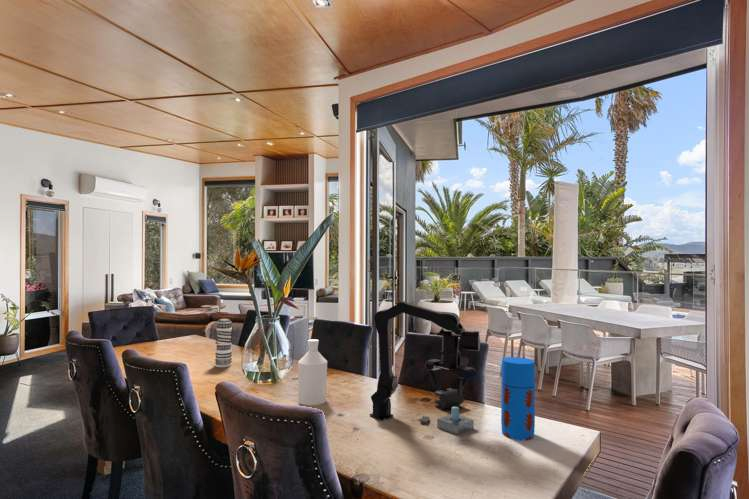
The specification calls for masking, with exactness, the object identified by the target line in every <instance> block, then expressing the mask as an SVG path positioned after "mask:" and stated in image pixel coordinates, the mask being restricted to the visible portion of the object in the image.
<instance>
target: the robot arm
mask: <svg viewBox="0 0 749 499" xmlns="http://www.w3.org/2000/svg"><path fill="white" fill-rule="evenodd" d="M401 314H406V315H409V316H411V317H412V316H413V317H416V318H419V319H421V320H425V321H429V322H431V323H433V324H435V325H437V326H439V327H440V328H441V329H440V330H439V332H437V333H436V336H439V337H440V336H441V337H442V342H441V350H440V351H439V354H440V355H441V359H437V358H432V359H429V360H426V362H425V363H424V364H425V367H424V368H425V369H426V370H427V371H428V372H429V373H430V376H431V377H432V379H433V381H434V384H435V386H436V388H437V391H439V390H441V387H442V374H443V371H444V370H445V371H448V372H452V373H456V375H457V377H456V389H457V391H458V396H461V394H462V392H463V391H464V389H465V386H466V384H467V382H468V381H469V380H470V379H473V378H474V377H477V371H476V369H475V368H474V367H471V366H468V364H469V358H468V357H465V356H462V352H461V351H459V347H460V348H461V349H462V351H472V352H473V351H474V352H480V349H481V339H480V331H479V330H477V331H476V330H475V331H470V330H469V331H468V330H466V329H465V327H464V326H463V325H462V324H461V320H460V316H459V315H458V314H457V313H455V312H452V311H451V312H449V311H437V310H432V309H429V308H426V307H423V306H419V305H417V304H412V303H410V302H407V301H404V300H402V301H399V302H398V303H397V304H395V305H393V306H391V307H389V308H387V309H382V310H379V311H376V313H375V314H374V316H373V321H374V326H375V329H376V332H377V334H378V346H379V347H378V349H379V351H378V352H379V376H378V379H377V386H376V391H375V392H374V393H373V394H372V395H371V396H370V399H371V402H372V413H370V414H369V416H370V417H373V418H375V419H378V420H380V421H383V420H385V419H389V418H391V417H394V414H393V413H391V412H392V402H391V397H392V395H393V394H394V393H395V392H397V388H398V387H399V383H398V375H395V374H394V372H393V365H392V364H393V363H392V343H391V342H392V340H391V334H392V330H393V329H392V328H393V324H394V319H395V318H396V317H398V316H400V315H401Z"/></svg>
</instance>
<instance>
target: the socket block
mask: <svg viewBox="0 0 749 499" xmlns="http://www.w3.org/2000/svg"><path fill="white" fill-rule="evenodd" d="M451 418H452V413H450V414H447V415H444V416H441V417H439V418H437V419H436V421H437V424H436V427H437V428H438V429H440V430H443V431H446V432H448V433H452V434H455V435H457V436H459V435H461V434H465V433H466V432H469V431H471V430H473V429H474V426H475V424H474V423H475V422H474V421H475V420H474V419H473V418H469V417H466V416H462V415H460V414H459V421H452V420H451ZM474 430H475V429H474Z"/></svg>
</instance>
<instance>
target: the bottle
mask: <svg viewBox="0 0 749 499" xmlns="http://www.w3.org/2000/svg"><path fill="white" fill-rule="evenodd" d="M319 341H320V340H319V339H316V338H315V339H314V338H312V339H308V340H307V344H308V345H307V346H308V347H307V348H308V349H307V350H308V351H307V352H306V353H305V354H304V355H303V356H302V357H301V358H300V359H299V360H298V364H297V365H298V366H297V370H298V372H297V374H298V375H297V381H298V382H297V388H298V392H297V394H298V395H297V396H298V398H297V399H298V404H301V405H304V406H318V405H323V404H325V403H326V402H327V381H328V380H327V379H328V378H327V376H328V375H327V374H328V360H327V359H326V358H325V357H324V356H323V355H322V354H321V353H320V352H319V350H318V348H319V343H320V342H319Z"/></svg>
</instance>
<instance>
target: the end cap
mask: <svg viewBox="0 0 749 499" xmlns="http://www.w3.org/2000/svg"><path fill="white" fill-rule="evenodd" d="M434 397H437V398H439V399H436V398H434V403H435V404H436V405H434V406H435V408H437V409H440V410H442V411H443V410H447V409H450V408H451V409H452V407H459V406H460V405H462V404H463V403H464V401H465V394H464V393H463V392H462V394H461V396H458V391H457V388H456V389H453V388H451V387H449V388H446V389H445V391H444V390H441V389H440V390H436V391H434Z"/></svg>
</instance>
